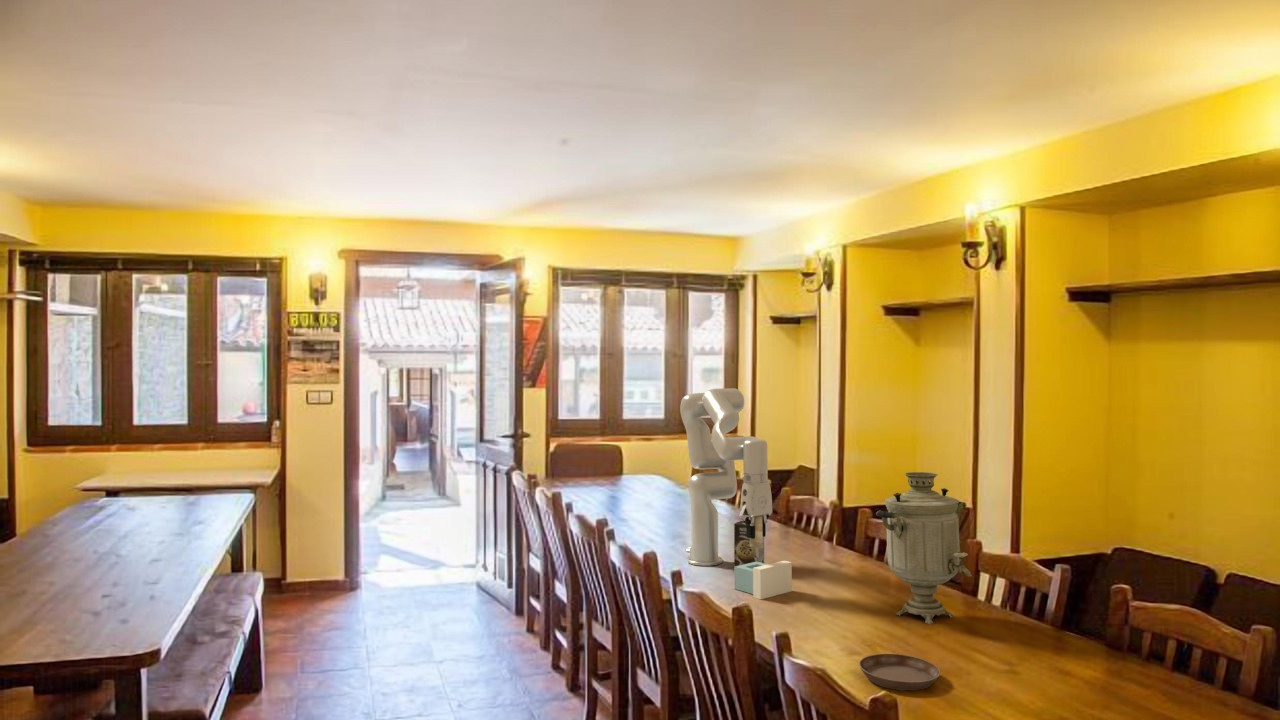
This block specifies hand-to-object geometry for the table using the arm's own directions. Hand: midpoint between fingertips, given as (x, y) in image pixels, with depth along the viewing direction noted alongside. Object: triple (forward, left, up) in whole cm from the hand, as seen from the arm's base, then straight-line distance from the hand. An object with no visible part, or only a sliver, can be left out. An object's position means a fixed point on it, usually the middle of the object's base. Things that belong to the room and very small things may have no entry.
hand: (756, 536), depth 272 cm
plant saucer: (+72, -29, -17) cm, 80 cm away
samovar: (+51, +15, -17) cm, 56 cm away
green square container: (0, 0, -17) cm, 17 cm away
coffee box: (-19, +16, -17) cm, 30 cm away
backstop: (+7, 0, -17) cm, 18 cm away
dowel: (0, 0, -3) cm, 3 cm away
